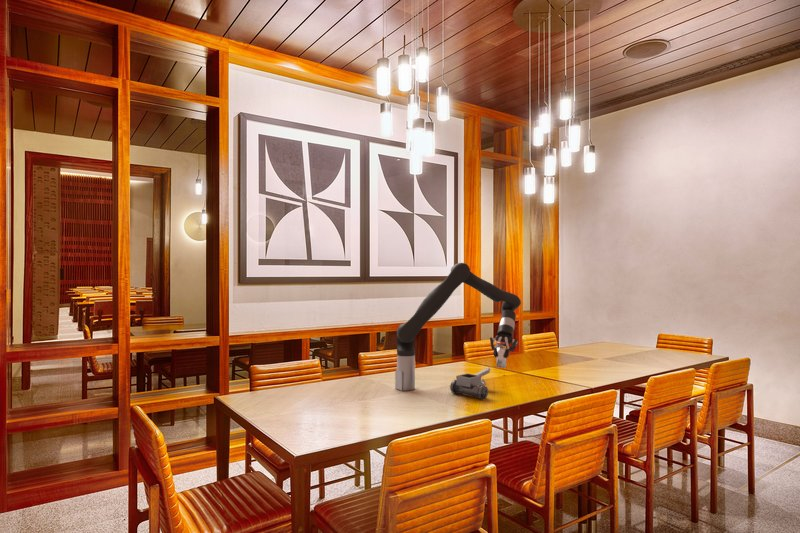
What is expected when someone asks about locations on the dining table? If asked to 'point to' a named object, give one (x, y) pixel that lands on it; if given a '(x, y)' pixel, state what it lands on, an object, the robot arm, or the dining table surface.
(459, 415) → the dining table surface
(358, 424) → the dining table surface
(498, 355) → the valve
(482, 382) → the door handle
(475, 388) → the grey toy rover
